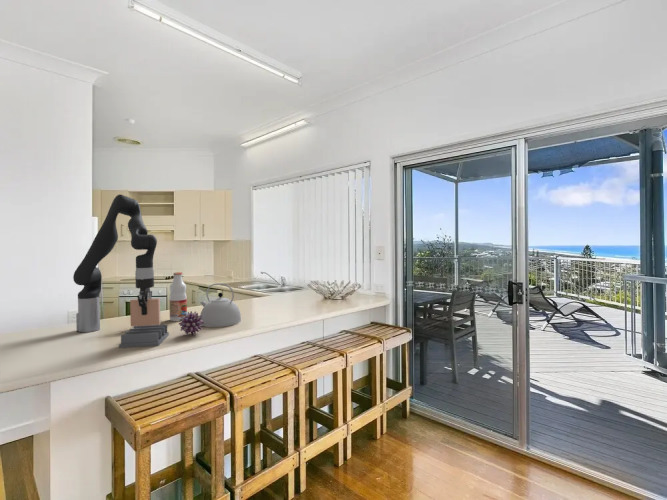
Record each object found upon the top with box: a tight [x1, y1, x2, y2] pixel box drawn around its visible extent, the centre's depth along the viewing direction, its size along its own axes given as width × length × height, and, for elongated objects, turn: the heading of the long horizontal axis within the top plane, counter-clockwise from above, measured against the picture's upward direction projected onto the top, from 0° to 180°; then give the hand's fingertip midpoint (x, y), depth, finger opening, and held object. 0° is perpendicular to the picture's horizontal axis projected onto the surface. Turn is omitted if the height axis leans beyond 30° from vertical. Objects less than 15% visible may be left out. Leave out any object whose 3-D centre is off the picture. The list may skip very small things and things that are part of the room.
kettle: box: [200, 282, 242, 328], centre depth 196 cm, size 25×23×22 cm
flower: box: [178, 310, 204, 336], centre depth 170 cm, size 12×12×12 cm
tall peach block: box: [129, 297, 161, 327], centre depth 159 cm, size 12×2×12 cm, turn 103°
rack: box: [118, 324, 170, 349], centre depth 159 cm, size 16×17×6 cm
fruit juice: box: [168, 271, 188, 322], centre depth 202 cm, size 9×9×28 cm
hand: (145, 313), depth 159 cm, fingers closed on tall peach block, 2 cm apart
